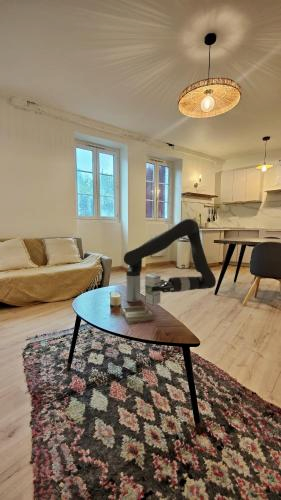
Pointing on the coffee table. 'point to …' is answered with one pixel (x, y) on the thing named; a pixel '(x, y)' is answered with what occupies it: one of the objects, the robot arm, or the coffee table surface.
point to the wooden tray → (137, 314)
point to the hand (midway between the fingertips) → (149, 286)
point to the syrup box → (151, 296)
